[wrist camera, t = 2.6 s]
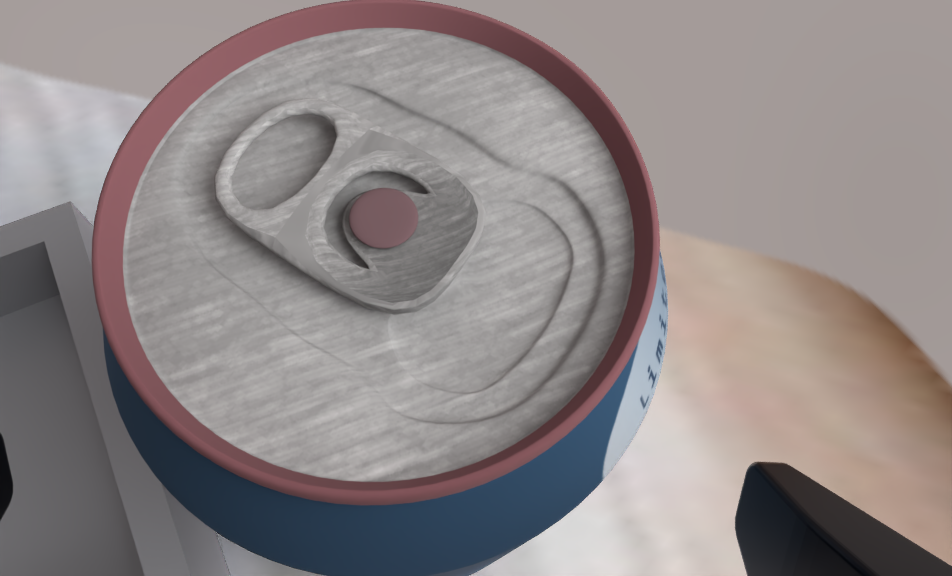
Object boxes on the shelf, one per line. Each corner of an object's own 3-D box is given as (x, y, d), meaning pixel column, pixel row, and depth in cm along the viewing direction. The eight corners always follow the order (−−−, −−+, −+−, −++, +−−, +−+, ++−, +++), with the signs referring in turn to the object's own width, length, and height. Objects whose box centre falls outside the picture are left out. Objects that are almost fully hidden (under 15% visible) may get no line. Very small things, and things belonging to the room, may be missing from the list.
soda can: (598, 403, 19) (824, 136, 8) (453, 651, 16) (489, 767, 5) (384, 269, 20) (319, -124, 9) (218, 482, 18) (-144, 295, 7)
